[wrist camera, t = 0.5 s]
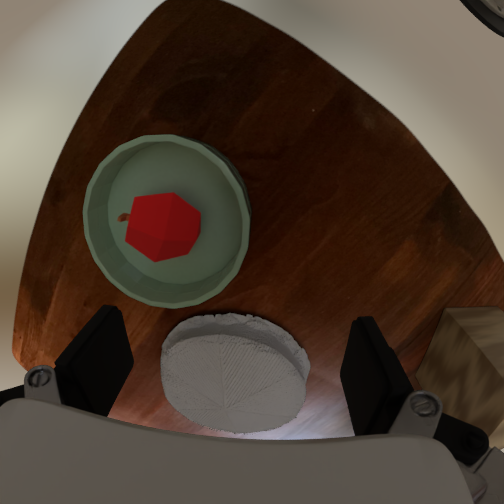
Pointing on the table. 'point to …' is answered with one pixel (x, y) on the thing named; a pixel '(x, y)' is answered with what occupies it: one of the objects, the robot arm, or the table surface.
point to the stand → (469, 368)
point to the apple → (162, 226)
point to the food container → (234, 373)
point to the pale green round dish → (189, 189)
